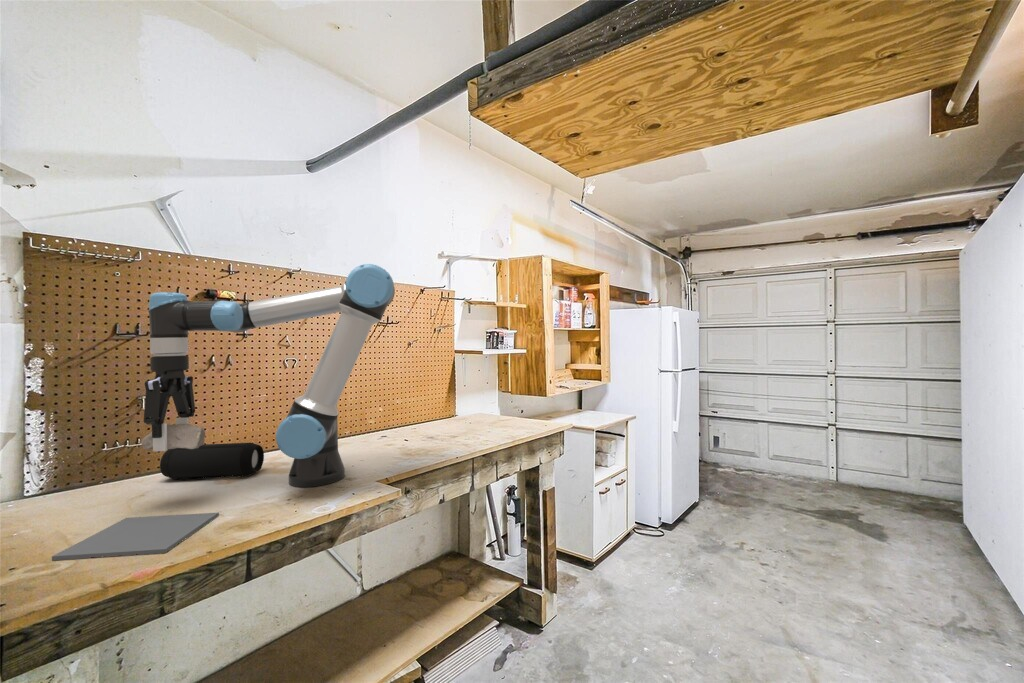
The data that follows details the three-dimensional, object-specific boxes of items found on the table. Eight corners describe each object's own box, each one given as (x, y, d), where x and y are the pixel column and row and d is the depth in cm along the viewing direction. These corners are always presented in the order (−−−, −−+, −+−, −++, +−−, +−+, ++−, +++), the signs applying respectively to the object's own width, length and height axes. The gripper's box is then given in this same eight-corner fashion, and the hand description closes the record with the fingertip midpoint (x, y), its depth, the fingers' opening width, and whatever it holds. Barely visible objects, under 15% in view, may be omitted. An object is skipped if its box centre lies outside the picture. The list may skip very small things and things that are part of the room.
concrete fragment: (188, 452, 103) (187, 427, 103) (137, 451, 105) (136, 426, 105) (212, 444, 110) (212, 421, 110) (164, 443, 112) (163, 420, 112)
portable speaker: (265, 470, 139) (265, 439, 139) (250, 480, 129) (249, 446, 129) (180, 474, 136) (179, 442, 136) (157, 484, 126) (157, 450, 126)
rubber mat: (218, 515, 102) (218, 512, 102) (165, 553, 84) (165, 549, 84) (126, 521, 100) (126, 517, 100) (51, 560, 82) (51, 556, 82)
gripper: (181, 354, 118) (183, 438, 118) (120, 357, 97) (122, 458, 97) (210, 353, 118) (212, 437, 118) (155, 356, 98) (158, 456, 98)
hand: (172, 446), depth 108 cm, fingers closed on concrete fragment, 7 cm apart
